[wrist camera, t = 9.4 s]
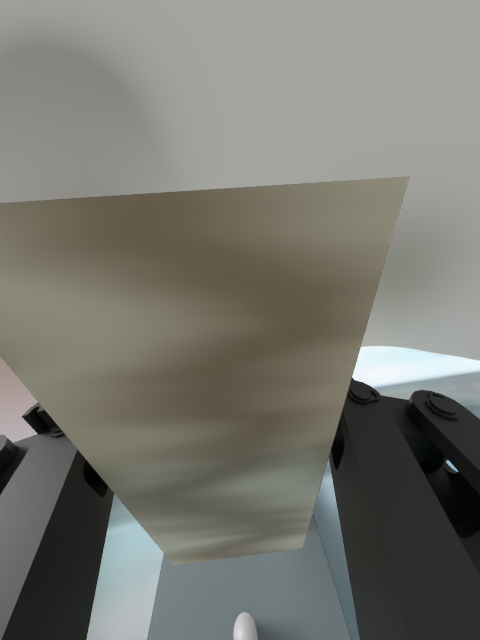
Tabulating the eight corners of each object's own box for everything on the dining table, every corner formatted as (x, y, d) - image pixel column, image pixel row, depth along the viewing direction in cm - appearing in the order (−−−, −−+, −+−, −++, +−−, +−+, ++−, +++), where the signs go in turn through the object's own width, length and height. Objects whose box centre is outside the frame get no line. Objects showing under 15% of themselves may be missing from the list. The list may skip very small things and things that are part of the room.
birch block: (174, 565, 8) (-121, 211, 2) (194, 433, 14) (133, 225, 7) (302, 548, 8) (410, 176, 2) (272, 425, 14) (278, 215, 8)
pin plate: (133, 757, 9) (95, 781, 7) (188, 449, 21) (180, 426, 19) (368, 719, 9) (398, 732, 7) (287, 439, 22) (289, 415, 20)
